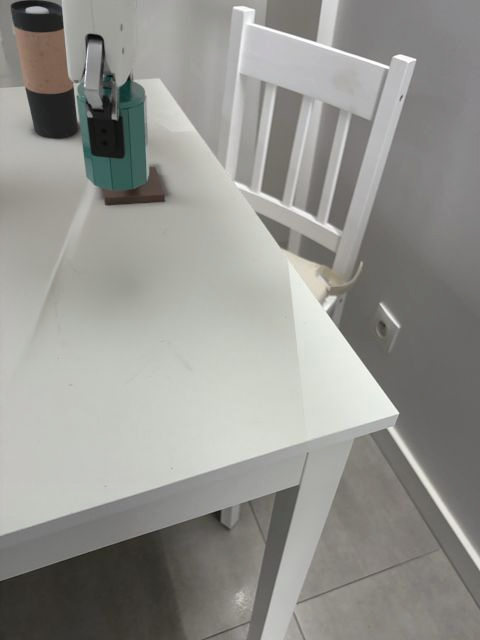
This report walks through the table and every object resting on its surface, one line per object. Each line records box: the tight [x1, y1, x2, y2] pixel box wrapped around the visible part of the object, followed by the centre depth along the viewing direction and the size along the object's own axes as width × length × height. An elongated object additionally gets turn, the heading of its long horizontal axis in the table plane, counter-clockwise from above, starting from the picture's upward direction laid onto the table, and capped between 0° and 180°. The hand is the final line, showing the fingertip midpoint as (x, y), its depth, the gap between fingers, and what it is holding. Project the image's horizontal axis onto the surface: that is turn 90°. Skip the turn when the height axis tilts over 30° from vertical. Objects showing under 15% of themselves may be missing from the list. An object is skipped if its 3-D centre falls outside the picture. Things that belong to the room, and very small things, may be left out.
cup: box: [75, 76, 150, 190], centre depth 56 cm, size 6×7×9 cm
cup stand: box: [101, 166, 166, 206], centre depth 84 cm, size 9×9×8 cm
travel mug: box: [9, 0, 79, 140], centre depth 90 cm, size 8×8×20 cm
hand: (115, 138), depth 57 cm, fingers closed on cup, 6 cm apart
